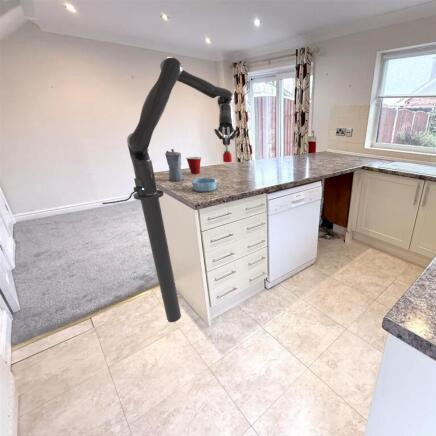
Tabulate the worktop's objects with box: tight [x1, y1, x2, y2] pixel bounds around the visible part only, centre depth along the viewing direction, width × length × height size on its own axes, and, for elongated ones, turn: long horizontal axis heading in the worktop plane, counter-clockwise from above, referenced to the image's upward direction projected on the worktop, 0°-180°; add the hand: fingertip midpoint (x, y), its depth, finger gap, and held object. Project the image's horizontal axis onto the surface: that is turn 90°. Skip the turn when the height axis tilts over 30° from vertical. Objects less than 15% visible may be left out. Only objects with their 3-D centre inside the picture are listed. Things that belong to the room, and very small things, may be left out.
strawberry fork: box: [222, 135, 233, 163], centre depth 140 cm, size 5×5×14 cm
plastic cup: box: [185, 156, 202, 175], centre depth 179 cm, size 11×11×12 cm
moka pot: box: [164, 148, 184, 182], centre depth 160 cm, size 10×15×20 cm, turn 58°
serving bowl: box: [191, 177, 218, 193], centre depth 146 cm, size 14×14×5 cm
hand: (226, 144), depth 137 cm, fingers closed on strawberry fork, 1 cm apart
